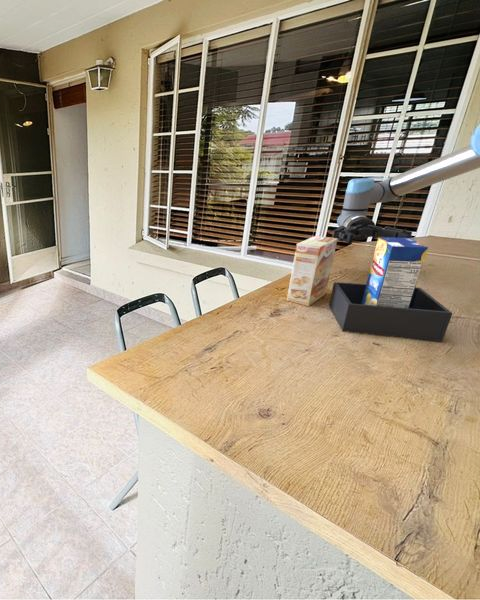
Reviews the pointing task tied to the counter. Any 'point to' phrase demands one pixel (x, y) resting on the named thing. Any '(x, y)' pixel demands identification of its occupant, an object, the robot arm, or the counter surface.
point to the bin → (389, 314)
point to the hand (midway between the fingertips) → (378, 239)
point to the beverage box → (394, 272)
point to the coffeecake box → (311, 269)
